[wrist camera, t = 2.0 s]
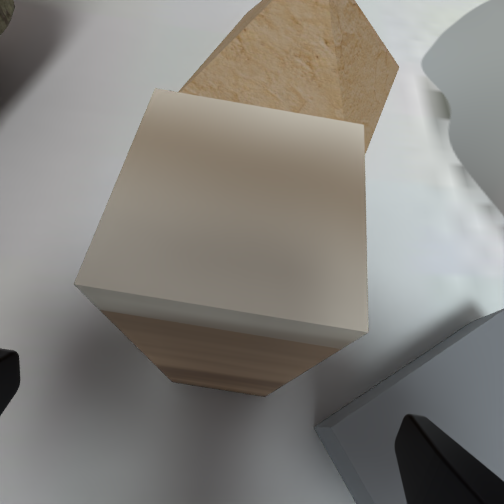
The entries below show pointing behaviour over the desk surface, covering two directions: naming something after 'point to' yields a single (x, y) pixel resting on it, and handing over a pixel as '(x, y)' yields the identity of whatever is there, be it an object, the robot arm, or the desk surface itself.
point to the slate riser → (424, 411)
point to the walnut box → (234, 242)
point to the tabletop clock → (5, 13)
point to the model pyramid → (302, 62)
